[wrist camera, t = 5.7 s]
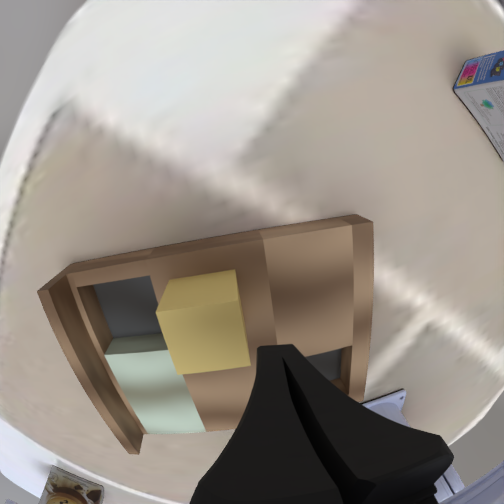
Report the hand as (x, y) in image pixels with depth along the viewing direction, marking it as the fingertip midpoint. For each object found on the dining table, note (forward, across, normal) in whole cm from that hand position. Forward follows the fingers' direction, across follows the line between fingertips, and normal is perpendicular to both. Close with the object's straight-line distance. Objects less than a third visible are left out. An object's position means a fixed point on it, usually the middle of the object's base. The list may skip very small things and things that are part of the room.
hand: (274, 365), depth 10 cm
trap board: (+10, +2, +6) cm, 12 cm away
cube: (+8, +3, +1) cm, 8 cm away
